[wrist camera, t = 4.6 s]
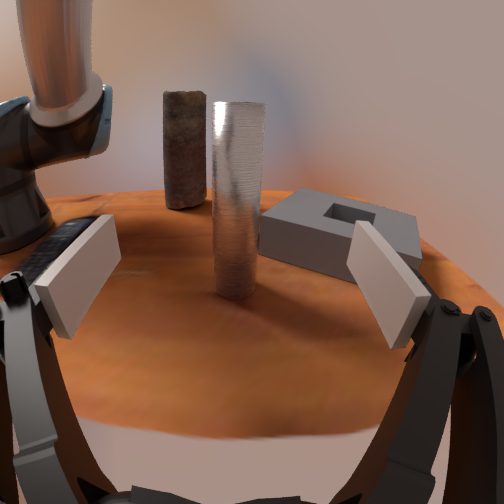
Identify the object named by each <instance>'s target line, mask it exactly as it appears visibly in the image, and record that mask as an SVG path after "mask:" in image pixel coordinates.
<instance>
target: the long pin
mask: <svg viewBox="0 0 504 504" xmlns="http://www.w3.org/2000/svg"><path fill="white" fill-rule="evenodd" d="M264 121H265V104H264V103H249V102H213V123H212V226H213V263H214V288H215V291H216V293H217V294H218V295H220V296H221V297H224V298H226V299H232V300H238V299H244V298H246V297H249V296H250V295H251V294H253V292H254V290H255V280H256V264H257V247H258V230H259V212H260V195H261V177H262V159H263V140H264Z"/></svg>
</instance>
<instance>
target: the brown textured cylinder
mask: <svg viewBox="0 0 504 504" xmlns="http://www.w3.org/2000/svg"><path fill="white" fill-rule="evenodd" d="M163 160H164V185H165V200H166V206H167V207H168V208H170V209H172V208H174V209H181V208H183V207H190V206H192V207H194V206H196V205H199V204H201V202H203V201H204V200H205V198H206V195H207V189H206V95H205V94H204V93H203V92H202V91H189V92H185V91H177V92H169V91H165V92H164V93H163Z"/></svg>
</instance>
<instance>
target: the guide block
mask: <svg viewBox="0 0 504 504" xmlns="http://www.w3.org/2000/svg"><path fill="white" fill-rule="evenodd" d="M356 220H358V221H369V222H370V224H371V225H372V226H373V227H374V228H375V229H376V230H377V231H378V232H379V233H380V234H381V235H382V237H383V238H384V239H385V240H386V241H387V242H388V243H389V244H390V246H391V247H392V248H393V249H394V250H395V251H396V252H397V254H398V255H399V256H400V257H401V258H402V259H403V261H404V262H405V263H406V264H407V265H410V266H411V267H413V268H414V269H416V270H417V271H418V270H419V267H420V265H421V262H422V252H421V245H420V238H419V232H418V226H417V220H416V217H415V216H412V215H409V214H406V213H402V212H399V211H395V210H392V209H388V208H385V207H380V206H377V205H373V204H370V203H366V202H362V201H358V200H354V199H350V198H346V197H342V196H337V195H333V194H329V193H324V192H320V191H315V190H311V189H306V188H301V189H299V190H298V191H296V192H294V193H293V194H291V195H290V196H288V197H287V198H285V199H284V200H282V201H281V202H279V203H278V204H276V205H275V206H273V207H272V208H270V209H269V210H267V211H266V212H264V213H263V214H261V221H260V238H259V254H260V255H263V256H266V257H270V258H273V259H276V260H279V261H283V262H286V263H289V264H293V265H296V266H299V267H302V268H306V269H309V270H312V271H316V272H319V273H322V274H325V275H329V276H332V277H335V278H339V279H342V280H345V281H348V282H352V283H355V284H357V282H356V281H355V279H354V277H353V275H352V273H351V271H350V270H349V268H348V266H347V264H346V263H347V259H348V255H349V251H350V246H351V242H352V237H353V233H354V228H355V223H356Z"/></svg>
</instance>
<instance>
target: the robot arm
mask: <svg viewBox="0 0 504 504" xmlns="http://www.w3.org/2000/svg"><path fill="white" fill-rule="evenodd" d="M92 2H93V0H16V6H17V16H18V23H19V30H20V36H21V42H22V47H23V52H24V57H25V61H26V66H27V70H28V74H29V77H30V81H31V85H32V88H33V92H34V95H33V97H32V99H31V100H30V99H29V97H28V96H21V97H17V98H14V99H11V100H9V101H5V102H3V103H1V104H0V254H4V253H8V252H11V251H14V250H17V249H19V248H21V247H23V246H25V245H27V244H29V243H31V242H33V241H35V240H36V239H38V238H39V237H41V236H42V235H43V234H45V233H46V232H47V231H48V230H49V229H50V228H51V226H52V224H53V219H52V215H51V211H50V208H49V207H48V205H47V203H46V201H45V199H44V197H43V195H42V194H41V192H40V190H39V188H38V186H37V183H36V177H35V169H39V168H42V167H46V166H50V165H54V164H59V163H63V162H68V161H73V160H77V159H82V158H85V159H86V158H89V157H90V156H93V155H98V154H101V153H103V152H104V151H105V150H106V149H107V147H108V145H109V140H110V130H111V115H112V87H111V86H109V85H103V84H102V80H101V78H100V76H98V74H96V73H95V72H93V71H92V65H91V19H92ZM120 260H121V253H120V248H119V243H118V238H117V233H116V227H115V221H114V215H101V216H100V217H99V218H98V219H97V220H96V221H95V222H94V223H92V224H91V225H90V226H89V227H88V228H87V229H86V230H85V231H84V232H83V233H82V234H81V235H80V236H79V237H78V238H77V239H76V240H75V241H74V242H73V243H72V244H71V245H70V246H69V247H68V248H67V249H66V250H65V251H64V252H63V253H62V254H61V255H60V256H59V257H58V258H57V259H55V260H54V261H52V262H51V263H50V264H49V265H48V266H47V267H46V269H45V270H44V271H43V272H42V274H40V275H39V276H38V277H37V279H36V280H35V281H34V282H33V283H32V284H31V286H30V287H29V288H28V287H27V284H26V282H25V279H24V277H23V274H22V272H20V271H14V272H11V273H9V274H7V275H5V276H4V277H3V278H2V279H1V280H0V292H1V294H2V296H3V298H4V300H5V302H0V504H19V495H18V488H17V480H16V474H17V477H18V481H19V483H20V486H21V489H22V492H23V494H24V497H25V499H26V502H27V504H200V503H197V502H194V501H191V500H188V499H185V498H182V497H180V496H177V495H174V494H172V493H167V492H161V491H156V490H151V489H146V488H141V487H137V486H133V485H132V489H131V491H123V492H118V491H117V490H116V489H115V487H114V486H113V484H112V483H111V482H110V481H109V479H108V478H107V477H106V476H105V475H104V474H103V472H102V471H101V469H100V468H99V466H98V464H97V462H96V460H95V458H94V456H93V454H92V452H91V450H90V448H89V446H88V444H87V441H86V439H85V437H84V435H83V432H82V430H81V428H80V426H79V423H78V420H77V418H76V415H75V413H74V410H73V407H72V405H71V402H70V399H69V396H68V393H67V390H66V387H65V384H64V381H63V377H62V374H61V371H60V367H59V363H58V360H57V356H56V352H55V348H54V343H53V339H52V337H51V335H50V333H49V332H50V331H51V329H52V328H54V330H55V332H56V334H57V336H58V337H60V338H65V339H70V340H71V339H72V338H73V336H74V334H75V332H76V330H77V329H78V327H79V325H80V323H81V322H82V320H83V318H84V316H85V315H86V313H87V311H88V310H89V308H90V306H91V305H92V303H93V301H94V300H95V298H96V297H97V295H98V293H99V292H100V290H101V289H102V287H103V285H104V284H105V282H106V281H107V279H108V278H109V276H110V275H111V273H112V272H113V270H114V269H115V267H116V266H117V264H118V263H119V261H120ZM346 264H347V266H348V268H349V270H350V271H351V273H352V275H353V277H354V279H355V281H356V282H357V284H358V286H359V288H360V290H361V292H362V293H363V295H364V297H365V299H366V301H367V303H368V305H369V307H370V309H371V311H372V313H373V315H374V317H375V318H376V320H377V322H378V324H379V326H380V328H381V331H382V333H383V335H384V337H385V339H386V341H387V343H388V345H389V347H390V349H398V348H405V347H406V345H407V343H408V342H409V340H410V338H412V339H413V341H414V343H415V344H414V345H413V347H412V349H411V351H410V352H409V354H408V356H407V357H406V359H405V360H404V361H405V362H407V363H406V366H405V368H404V371H403V374H402V376H401V379H400V382H399V384H398V387H397V389H396V391H395V394H394V396H393V398H392V401H391V403H390V405H389V408H388V410H387V412H386V414H385V416H384V418H383V420H382V422H381V424H380V426H379V428H378V430H377V432H376V434H375V436H374V438H373V440H372V442H371V444H370V446H369V447H368V449H367V451H366V453H365V455H364V456H363V458H362V460H361V461H360V463H359V465H358V466H357V468H356V470H355V471H354V473H353V474H352V476H351V478H350V479H349V481H348V482H347V483H346V484H345V486H344V487H343V488H342V489H341V490H340V491H339V492H338V493H337V494H336V495H335V496H334V498H333V499H332V501H331V502H330V503H329V504H427V503H428V501H429V498H430V497H431V494H432V492H433V489H434V486H435V477H434V476H432V475H431V468H432V465H433V462H434V460H435V457H436V454H437V451H438V448H439V445H440V442H441V438H442V435H443V431H444V428H445V424H446V421H447V417H448V412H449V408H450V404H451V431H450V449H449V460H448V470H447V477H446V484H445V490H444V496H443V502H442V504H504V339H503V336H502V333H501V330H500V327H499V324H498V322H497V319H496V317H495V315H494V314H493V313H492V311H491V310H490V309H488V308H487V307H483V306H477V307H475V309H474V311H473V313H472V315H469V314H463V313H462V312H461V310H460V308H459V307H458V306H457V305H456V304H455V303H453V302H451V301H449V300H445V299H439V297H438V296H437V295H436V293H435V292H434V291H433V290H432V288H431V287H430V286H429V285H428V284H427V282H426V281H425V280H424V278H422V276H421V275H420V274H419V272H418V271H417V270H416V269H414V268H413V267H411V266H410V265H407V264H406V263H405V262H404V261H403V259H402V258H401V257H400V256H399V255H398V254H397V252H396V251H395V250H394V249H393V248H392V247H391V246H390V244H389V243H388V242H387V241H386V240H385V239H384V238H383V237H382V235H381V234H380V233H379V232H378V231H377V230H376V229H375V228H374V227H373V226H372V225H371V224H370V222H369V221H358V220H356V223H355V228H354V233H353V237H352V242H351V246H350V251H349V255H348V259H347V263H346ZM475 355H476V359H475V358H474V357H475ZM12 418H13V423H14V427H15V432H16V436H17V440H18V445H19V450H20V451H19V453H18V454H16V455H14V452H13V432H12ZM15 471H16V473H15ZM237 504H316V503H310V502H306V501H301V500H300V496H294V497H282V498H265V499H255V500H251V501H247V502H242V503H237Z"/></svg>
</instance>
